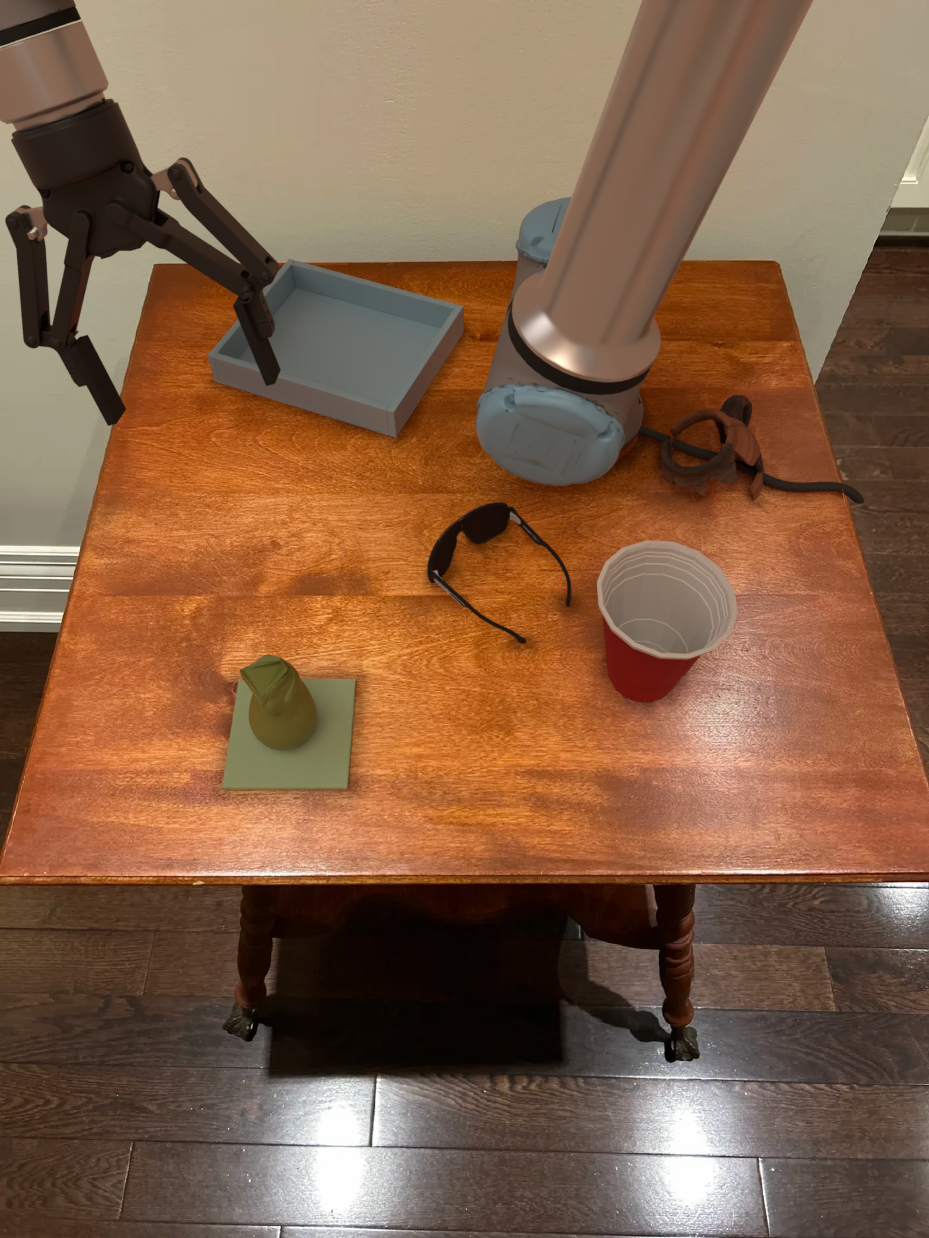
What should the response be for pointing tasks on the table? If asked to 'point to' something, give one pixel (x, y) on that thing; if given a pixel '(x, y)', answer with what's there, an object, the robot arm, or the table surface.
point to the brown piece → (736, 441)
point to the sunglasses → (479, 529)
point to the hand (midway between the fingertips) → (194, 398)
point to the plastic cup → (661, 615)
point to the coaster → (305, 765)
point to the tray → (345, 347)
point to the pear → (279, 703)
